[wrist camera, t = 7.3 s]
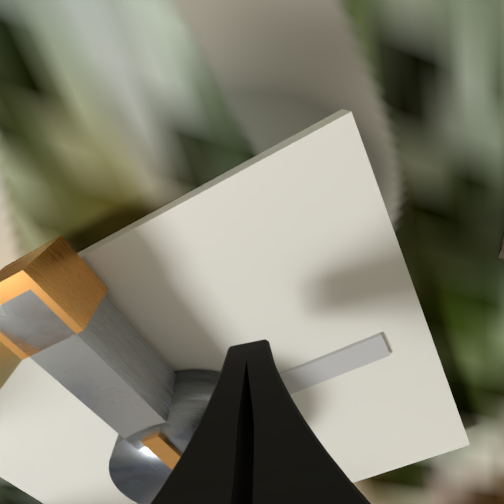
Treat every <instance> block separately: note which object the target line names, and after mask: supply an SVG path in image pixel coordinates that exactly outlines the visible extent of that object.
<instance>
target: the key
mask: <svg viewBox="0 0 504 504" xmlns="http://www.w3.org/2000/svg"><path fill="white" fill-rule="evenodd" d="M107 290H108V288H107V287H106V286H105V285H104V283H103V282H102V281H101V280H100V279H99V278H98V277H97V275H96V274H95V273H94V272H93V271H92V270H91V269H90V268H89V266H88V265H87V264H86V263H85V262H84V261H83V260H82V259H81V257H80V256H79V255H78V254H77V253H76V252H75V251H74V250H73V248H72V247H71V246H70V245H69V244H68V243H67V242H66V240H65V239H64V238H63V237H62V236H59V237H57V238H55V239H53V240H52V241H50V242H48V243H46V244H44V245H43V246H41V247H39V248H37V249H35V250H34V251H32V252H30V253H28V254H26V255H25V256H23V257H21V258H19V259H17V260H16V261H14V262H12V263H10V264H9V265H7V266H5V267H4V268H3V269H2V270H0V342H2V343H3V344H4V345H5V346H6V347H7V348H9V349H10V350H11V351H12V352H13V353H15V354H16V355H17V356H18V357H19V358H20V359H22V360H23V359H26V358H28V357H30V358H31V359H32V360H33V361H35V362H36V363H37V364H38V365H39V366H40V367H42V368H43V369H44V370H45V371H46V372H47V373H49V374H50V375H51V376H52V377H53V378H54V379H56V380H57V381H58V382H59V383H60V384H61V385H63V386H64V387H65V388H66V389H67V390H68V391H69V392H71V393H72V394H73V395H74V396H75V397H76V398H78V399H79V400H80V401H81V402H82V403H83V404H85V405H86V406H87V407H88V408H89V409H90V410H92V411H93V412H94V413H95V414H96V415H97V416H99V417H100V418H101V419H102V420H103V421H104V422H105V423H107V424H108V425H109V426H110V427H111V428H112V429H114V430H115V431H116V432H117V433H118V436H117V439H116V442H115V445H114V448H113V451H112V454H111V457H110V461H109V474H110V477H111V479H112V481H113V483H114V485H115V486H116V487H117V488H118V490H119V491H120V492H121V493H123V494H124V495H125V496H126V497H128V498H129V499H131V500H132V501H134V502H136V503H138V504H150V503H151V502H152V500H153V499H154V498H155V496H156V495H157V493H158V492H159V490H160V489H161V487H162V486H163V484H164V483H165V481H166V479H167V478H168V476H169V475H170V473H171V471H172V470H173V468H174V467H175V465H176V464H177V462H178V460H179V459H180V457H181V455H182V453H183V452H184V450H185V448H186V446H187V445H188V443H189V441H190V439H191V437H192V435H193V433H194V431H195V429H196V427H197V425H198V423H199V421H200V419H201V417H202V415H203V413H204V411H205V409H206V407H207V404H208V402H209V400H210V397H211V395H212V392H213V390H214V388H215V385H216V383H217V380H218V378H219V375H220V372H216V371H210V370H201V369H189V370H179V371H173V370H172V369H171V368H170V367H169V366H168V365H167V363H166V362H165V361H164V360H163V359H162V358H161V357H160V356H159V355H158V354H157V352H156V351H155V350H154V349H153V348H152V347H151V346H150V345H149V344H148V342H147V341H146V340H145V339H144V338H143V337H142V336H141V335H140V334H139V332H138V331H137V330H136V329H135V328H134V327H133V326H132V325H131V324H130V322H129V321H128V320H127V319H126V318H125V317H124V316H123V315H122V314H121V312H120V311H119V310H118V309H117V308H116V307H115V306H114V305H113V304H112V302H111V301H110V300H109V299H108V298H107V297H106V296H105V294H106V292H107Z"/></svg>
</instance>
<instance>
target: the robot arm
mask: <svg viewBox="0 0 504 504" xmlns="http://www.w3.org/2000/svg"><path fill="white" fill-rule="evenodd" d="M150 504H370V502H369V501H368V500H367V499H366V498H365V497H364V496H363V494H362V493H361V492H360V491H359V490H358V489H357V488H356V486H355V485H354V484H353V483H352V482H351V481H350V479H349V478H348V477H347V476H346V474H345V473H344V472H343V471H342V469H341V468H340V467H339V466H338V464H337V463H336V462H335V461H334V459H333V458H332V457H331V456H330V454H329V453H328V452H327V450H326V449H325V448H324V446H323V445H322V444H321V442H320V441H319V439H318V438H317V437H316V435H315V434H314V432H313V431H312V429H311V428H310V427H309V425H308V424H307V422H306V421H305V419H304V417H303V416H302V414H301V413H300V411H299V409H298V408H297V406H296V404H295V403H294V401H293V399H292V398H291V396H290V394H289V392H288V390H287V388H286V386H285V384H284V383H283V381H282V379H281V377H280V374H279V372H278V370H277V368H276V365H275V362H274V358H273V355H272V351H271V347H270V343H269V341H267V340H266V339H264V340H259V341H254V342H249V343H244V344H239V345H235V346H230V347H229V349H228V351H227V354H226V357H225V361H224V364H223V367H222V369H221V372H220V375H219V378H218V380H217V383H216V385H215V388H214V390H213V392H212V395H211V397H210V400H209V402H208V404H207V407H206V409H205V411H204V413H203V415H202V417H201V419H200V421H199V423H198V425H197V427H196V429H195V431H194V433H193V435H192V437H191V439H190V441H189V443H188V445H187V446H186V448H185V450H184V452H183V453H182V455H181V457H180V459H179V460H178V462H177V464H176V465H175V467H174V468H173V470H172V471H171V473H170V475H169V476H168V478H167V479H166V481H165V483H164V484H163V486H162V487H161V489H160V490H159V492H158V493H157V495H156V496H155V498H154V499H153V500H152V502H151V503H150Z"/></svg>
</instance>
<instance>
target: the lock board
mask: <svg viewBox="0 0 504 504" xmlns="http://www.w3.org/2000/svg"><path fill="white" fill-rule="evenodd" d="M77 254H78V255H79V256H80V257H81V259H82V260H83V261H84V262H85V263H86V264H87V265H88V266H89V268H90V269H91V270H92V271H93V272H94V273H95V274H96V275H97V277H98V278H99V279H100V280H101V281H102V282H103V283H104V285H105V286H106V287H107V288H108V290H107V292H106V294H105V296H106V297H107V298H108V299H109V300H110V301H111V302H112V304H113V305H114V306H115V307H116V308H117V309H118V310H119V311H120V312H121V314H122V315H123V316H124V317H125V318H126V319H127V320H128V321H129V322H130V324H131V325H132V326H133V327H134V328H135V329H136V330H137V331H138V332H139V334H140V335H141V336H142V337H143V338H144V339H145V340H146V341H147V342H148V344H149V345H150V346H151V347H152V348H153V349H154V350H155V351H156V352H157V354H158V355H159V356H160V357H161V358H162V359H163V360H164V361H165V362H166V363H167V365H168V366H169V367H170V368H171V369H172V370H173V371H179V370H189V369H201V370H210V371H216V372H221V369H222V367H223V364H224V361H225V357H226V354H227V351H228V349H229V347H230V346H235V345H239V344H244V343H249V342H254V341H259V340H264V339H266V340H267V341H269V343H270V347H271V351H272V355H273V358H274V362H275V365H276V368H277V370H278V372H279V374H280V377H281V379H282V381H283V383H284V384H285V386H286V388H287V390H288V392H289V394H290V396H291V398H292V399H293V401H294V403H295V404H296V406H297V408H298V409H299V411H300V413H301V414H302V416H303V417H304V419H305V421H306V422H307V424H308V425H309V427H310V428H311V429H312V431H313V432H314V434H315V435H316V437H317V438H318V439H319V441H320V442H321V444H322V445H323V446H324V448H325V449H326V450H327V452H328V453H329V454H330V456H331V457H332V458H333V459H334V461H335V462H336V463H337V464H338V466H339V467H340V468H341V469H342V471H343V472H344V473H345V474H346V476H347V477H348V478H349V479H350V481H351V482H352V483H353V482H357V481H360V480H363V479H366V478H369V477H372V476H375V475H378V474H381V473H384V472H387V471H390V470H394V469H397V468H400V467H403V466H406V465H409V464H412V463H415V462H418V461H421V460H424V459H427V458H431V457H434V456H437V455H440V454H443V453H446V452H449V451H452V450H455V449H458V448H461V447H464V446H468V445H470V443H469V441H468V438H467V435H466V432H465V429H464V427H463V424H462V421H461V418H460V415H459V412H458V410H457V407H456V404H455V401H454V398H453V396H452V393H451V390H450V387H449V384H448V382H447V379H446V376H445V373H444V370H443V367H442V365H441V362H440V359H439V356H438V353H437V351H436V348H435V345H434V342H433V339H432V336H431V334H430V331H429V328H428V325H427V322H426V320H425V317H424V314H423V311H422V308H421V305H420V303H419V300H418V297H417V294H416V291H415V289H414V286H413V283H412V280H411V277H410V275H409V272H408V269H407V266H406V263H405V260H404V258H403V255H402V252H401V249H400V246H399V244H398V241H397V238H396V235H395V232H394V229H393V227H392V224H391V221H390V218H389V215H388V213H387V210H386V207H385V204H384V201H383V199H382V196H381V193H380V190H379V187H378V184H377V182H376V179H375V176H374V173H373V170H372V168H371V165H370V162H369V159H368V156H367V153H366V151H365V148H364V145H363V142H362V140H361V137H360V134H359V131H358V128H357V125H356V123H355V120H354V117H353V114H352V112H351V111H348V110H345V109H341V110H340V111H338V112H336V113H334V114H332V115H331V116H328V117H327V118H325V119H323V120H321V121H319V122H317V123H316V124H314V125H312V126H310V127H308V128H306V129H305V130H303V131H301V132H299V133H297V134H295V135H293V136H292V137H290V138H288V139H286V140H284V141H282V142H281V143H279V144H277V145H275V146H273V147H271V148H270V149H268V150H266V151H264V152H262V153H260V154H258V155H257V156H255V157H253V158H251V159H249V160H247V161H246V162H244V163H242V164H240V165H238V166H236V167H235V168H233V169H231V170H229V171H227V172H225V173H224V174H222V175H220V176H218V177H216V178H214V179H213V180H211V181H209V182H207V183H205V184H203V185H202V186H200V187H198V188H196V189H194V190H192V191H190V192H189V193H187V194H185V195H183V196H181V197H179V198H178V199H176V200H174V201H172V202H170V203H168V204H167V205H165V206H163V207H161V208H159V209H157V210H156V211H154V212H152V213H150V214H148V215H146V216H145V217H143V218H141V219H139V220H137V221H135V222H134V223H132V224H130V225H128V226H126V227H124V228H122V229H121V230H119V231H117V232H115V233H113V234H111V235H110V236H108V237H106V238H104V239H102V240H100V241H99V242H97V243H95V244H93V245H91V246H89V247H88V248H86V249H84V250H82V251H80V252H78V253H77ZM117 436H118V433H117V432H116V431H115V430H114V429H112V428H111V427H110V426H109V425H108V424H107V423H105V422H104V421H103V420H102V419H101V418H100V417H99V416H97V415H96V414H95V413H94V412H93V411H92V410H90V409H89V408H88V407H87V406H86V405H85V404H83V403H82V402H81V401H80V400H79V399H78V398H76V397H75V396H74V395H73V394H72V393H71V392H69V391H68V390H67V389H66V388H65V387H64V386H63V385H61V384H60V383H59V382H58V381H57V380H56V379H54V378H53V377H52V376H51V375H50V374H49V373H47V372H46V371H45V370H44V369H43V368H42V367H40V366H39V365H38V364H37V363H36V362H35V361H33V360H32V359H31V358H30V357H28V358H26V359H23V360H22V359H20V358H19V357H18V356H17V355H16V354H15V353H13V352H12V351H11V350H10V349H9V348H7V347H6V346H5V345H4V344H3V343H2V342H0V477H2V478H3V479H5V480H6V481H8V482H10V483H11V484H13V485H14V486H16V487H18V488H19V489H21V490H22V491H24V492H26V493H27V494H29V495H31V496H32V497H34V498H35V499H37V500H39V501H40V502H42V503H43V504H138V503H136V502H134V501H132V500H131V499H129V498H128V497H126V496H125V495H124V494H123V493H121V492H120V491H119V490H118V488H117V487H116V486H115V485H114V483H113V481H112V479H111V477H110V474H109V461H110V457H111V454H112V451H113V448H114V445H115V442H116V439H117Z"/></svg>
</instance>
